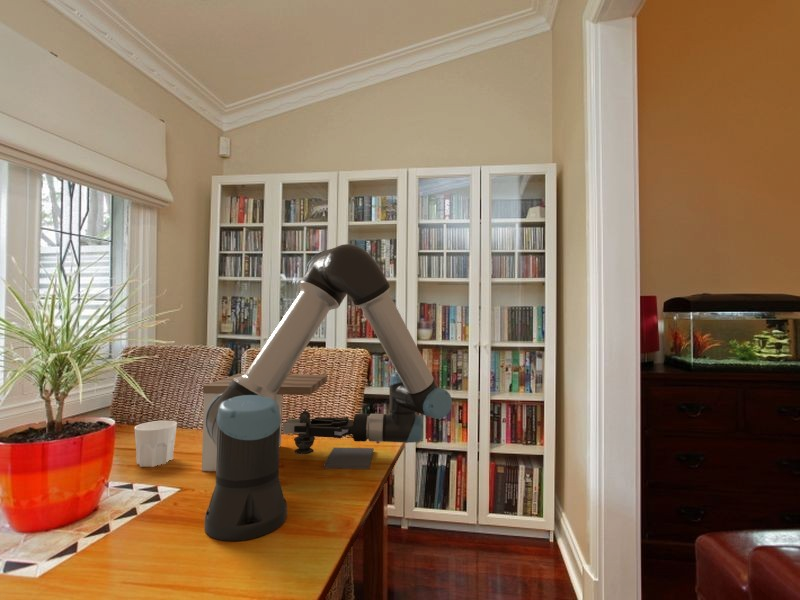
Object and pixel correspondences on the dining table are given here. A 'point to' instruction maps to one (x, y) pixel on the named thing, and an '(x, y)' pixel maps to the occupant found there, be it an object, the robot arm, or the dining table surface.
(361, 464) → the mat
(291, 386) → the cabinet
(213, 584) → the dining table surface
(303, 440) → the black chess piece
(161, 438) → the cup
